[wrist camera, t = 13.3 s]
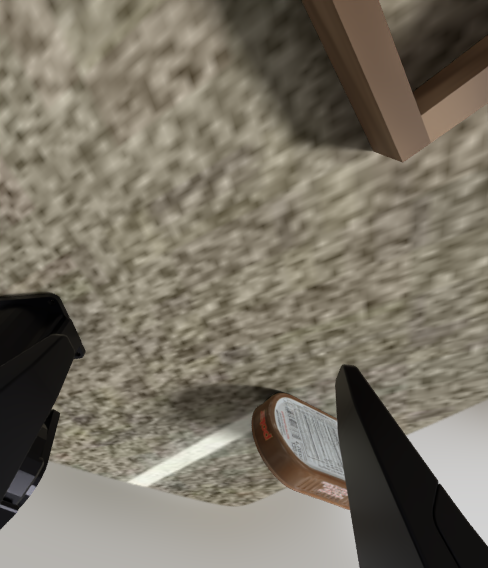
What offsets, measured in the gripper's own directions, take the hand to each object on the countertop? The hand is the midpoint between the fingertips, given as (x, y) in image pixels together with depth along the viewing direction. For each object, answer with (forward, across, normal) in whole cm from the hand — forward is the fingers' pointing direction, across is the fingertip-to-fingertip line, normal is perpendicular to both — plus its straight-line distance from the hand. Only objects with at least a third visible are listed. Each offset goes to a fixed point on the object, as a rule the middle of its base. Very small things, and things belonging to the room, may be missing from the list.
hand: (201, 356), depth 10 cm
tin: (+12, -8, +23) cm, 27 cm away
